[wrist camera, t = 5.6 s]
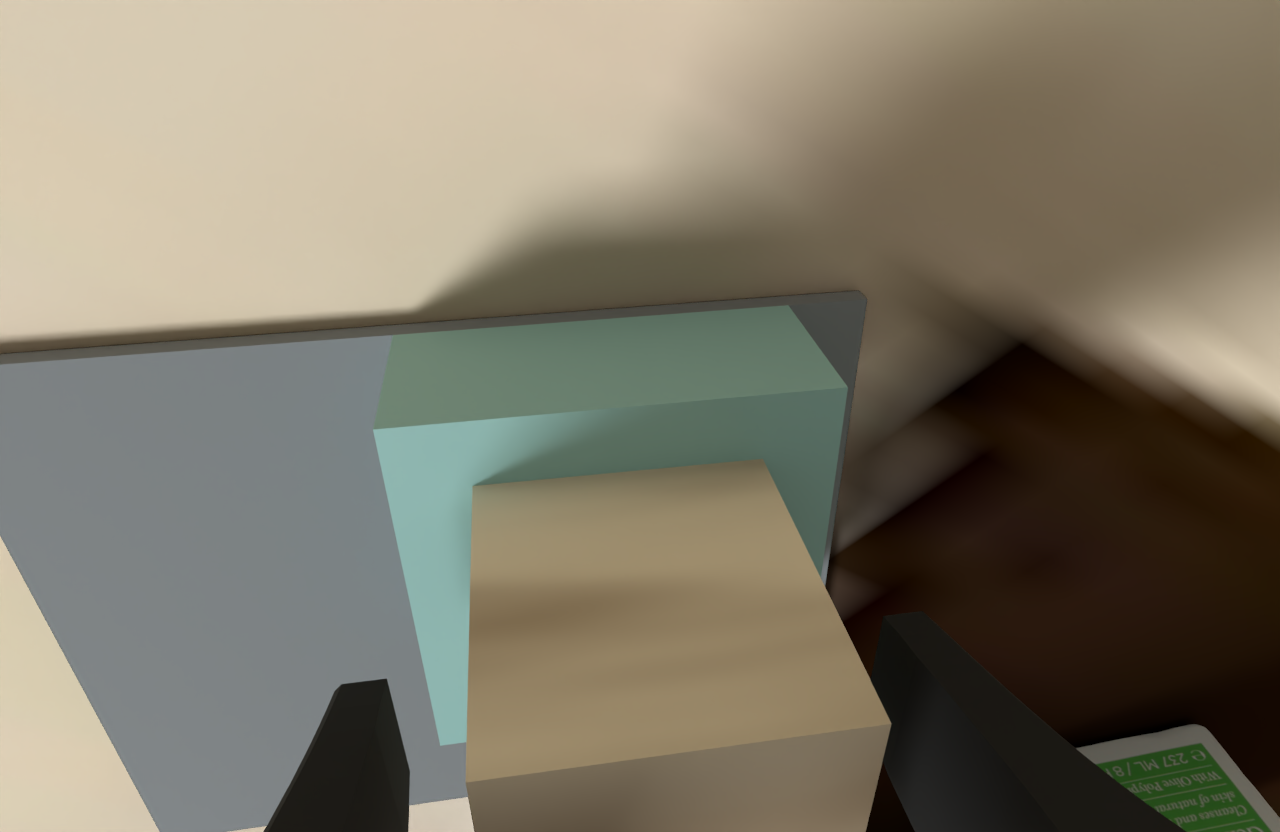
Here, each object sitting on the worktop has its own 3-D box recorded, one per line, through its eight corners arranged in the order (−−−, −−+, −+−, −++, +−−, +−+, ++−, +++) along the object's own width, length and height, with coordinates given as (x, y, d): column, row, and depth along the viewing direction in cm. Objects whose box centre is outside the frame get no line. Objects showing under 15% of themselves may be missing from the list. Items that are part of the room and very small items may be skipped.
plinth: (762, 589, 19) (803, 696, 16) (446, 626, 18) (440, 745, 16) (788, 305, 15) (847, 386, 13) (393, 334, 14) (373, 429, 12)
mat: (796, 736, 23) (801, 748, 22) (169, 825, 21) (164, 840, 20) (859, 290, 16) (867, 299, 15) (-75, 359, 14) (-89, 371, 13)
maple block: (744, 657, 16) (839, 939, 11) (500, 688, 15) (505, 996, 11) (762, 458, 13) (891, 723, 9) (472, 485, 13) (465, 782, 8)
